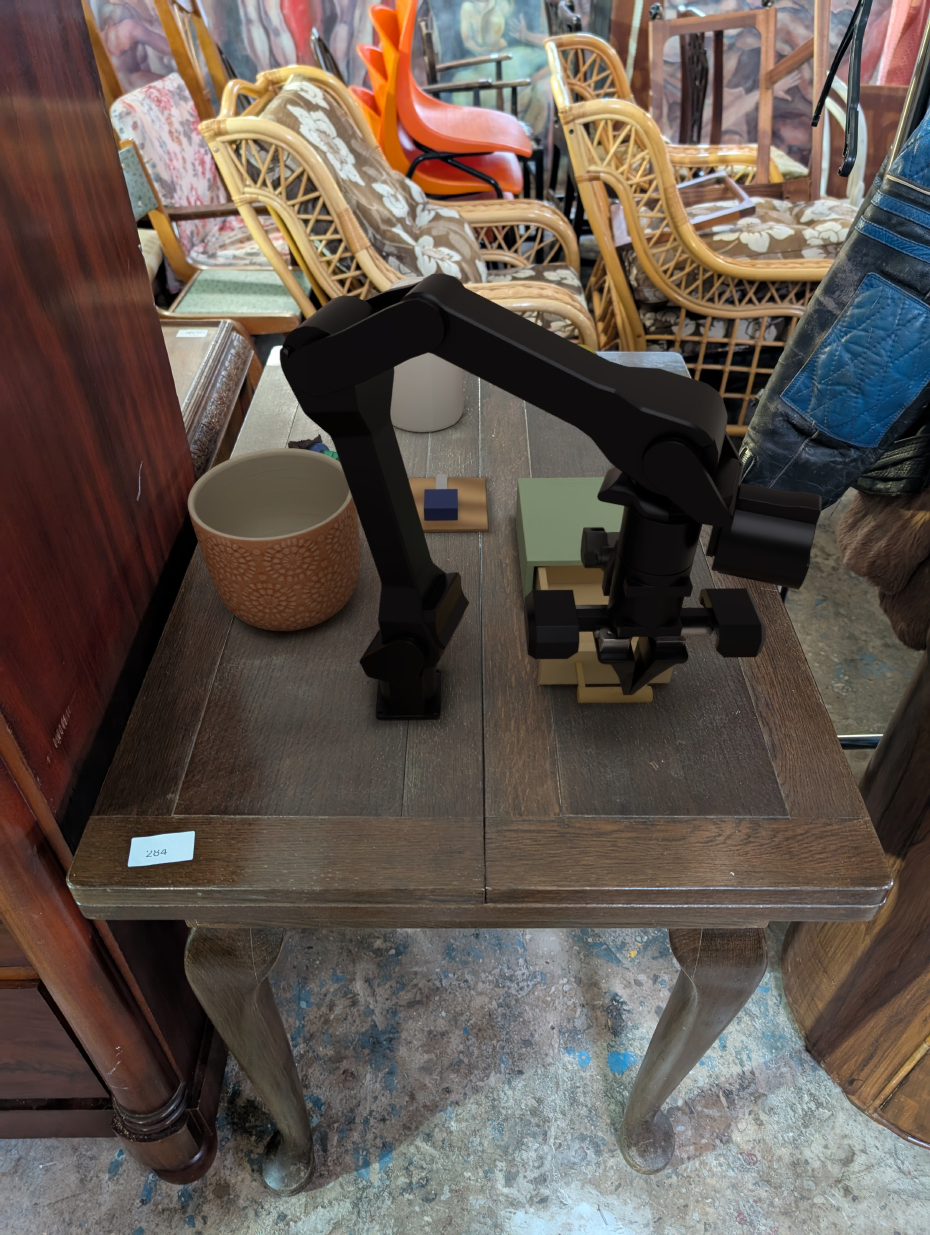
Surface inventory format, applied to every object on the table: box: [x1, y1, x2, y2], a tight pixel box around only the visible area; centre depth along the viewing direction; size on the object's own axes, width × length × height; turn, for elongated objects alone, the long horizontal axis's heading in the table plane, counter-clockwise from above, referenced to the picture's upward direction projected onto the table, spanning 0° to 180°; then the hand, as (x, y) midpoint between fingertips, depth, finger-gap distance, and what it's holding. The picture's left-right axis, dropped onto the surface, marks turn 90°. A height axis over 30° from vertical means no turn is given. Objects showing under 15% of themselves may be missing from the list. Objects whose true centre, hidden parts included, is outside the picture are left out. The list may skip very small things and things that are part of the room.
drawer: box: [535, 566, 675, 704], centre depth 84 cm, size 20×13×5 cm, turn 1°
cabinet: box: [515, 476, 624, 600], centre depth 95 cm, size 17×15×7 cm
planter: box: [187, 447, 361, 632], centre depth 87 cm, size 17×17×15 cm
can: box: [388, 276, 465, 433], centre depth 118 cm, size 12×12×20 cm
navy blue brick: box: [424, 473, 458, 521], centre depth 106 cm, size 10×4×2 cm, turn 1°
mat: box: [408, 477, 489, 533], centre depth 106 cm, size 12×12×1 cm
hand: (626, 691), depth 70 cm, fingers closed
